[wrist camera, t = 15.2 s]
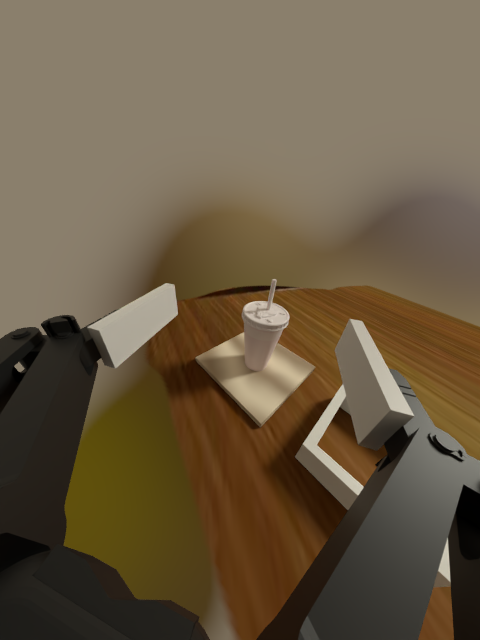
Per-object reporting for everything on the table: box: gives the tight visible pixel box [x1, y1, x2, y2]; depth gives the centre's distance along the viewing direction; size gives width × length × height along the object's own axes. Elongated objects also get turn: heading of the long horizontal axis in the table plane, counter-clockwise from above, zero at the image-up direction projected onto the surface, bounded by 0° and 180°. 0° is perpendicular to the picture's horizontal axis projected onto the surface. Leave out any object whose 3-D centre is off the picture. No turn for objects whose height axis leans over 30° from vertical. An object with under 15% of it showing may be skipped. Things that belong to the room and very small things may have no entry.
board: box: [196, 333, 315, 427], centre depth 30 cm, size 14×14×1 cm
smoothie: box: [242, 279, 289, 371], centre depth 26 cm, size 6×6×14 cm
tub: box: [295, 384, 451, 587], centre depth 19 cm, size 11×11×3 cm
